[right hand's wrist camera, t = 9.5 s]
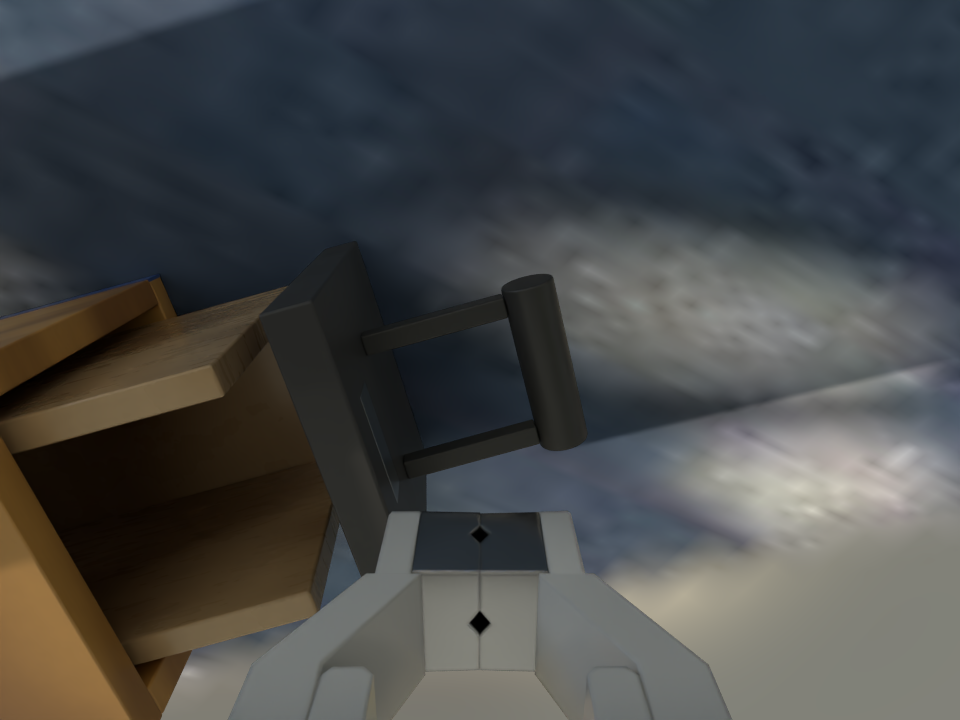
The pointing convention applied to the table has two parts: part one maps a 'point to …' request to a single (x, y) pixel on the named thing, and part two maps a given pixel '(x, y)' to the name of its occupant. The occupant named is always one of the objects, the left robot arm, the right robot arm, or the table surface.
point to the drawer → (257, 447)
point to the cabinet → (43, 557)
